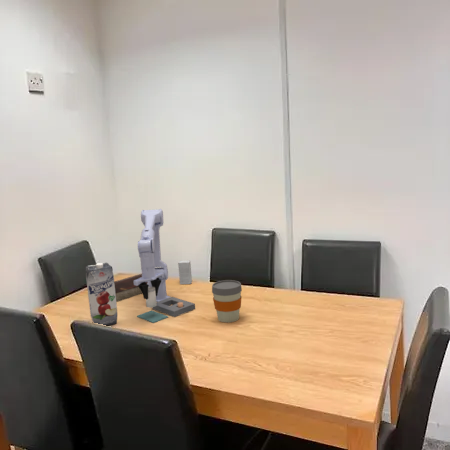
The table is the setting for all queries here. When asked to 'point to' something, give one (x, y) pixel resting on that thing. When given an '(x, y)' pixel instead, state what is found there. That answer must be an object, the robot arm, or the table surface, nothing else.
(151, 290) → the filter cartridge
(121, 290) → the hardback book
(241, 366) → the table surface
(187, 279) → the skincare box
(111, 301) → the juice carton
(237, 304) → the reusable coffee cup
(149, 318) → the mat
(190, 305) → the grey board with holes
